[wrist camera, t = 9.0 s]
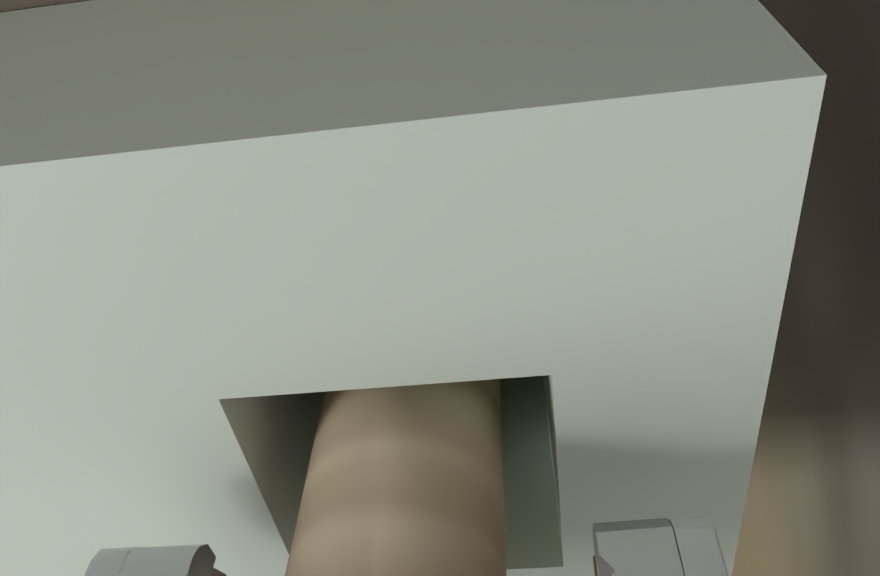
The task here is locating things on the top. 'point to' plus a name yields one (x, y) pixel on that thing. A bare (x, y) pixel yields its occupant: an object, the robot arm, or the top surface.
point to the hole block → (387, 257)
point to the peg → (404, 484)
